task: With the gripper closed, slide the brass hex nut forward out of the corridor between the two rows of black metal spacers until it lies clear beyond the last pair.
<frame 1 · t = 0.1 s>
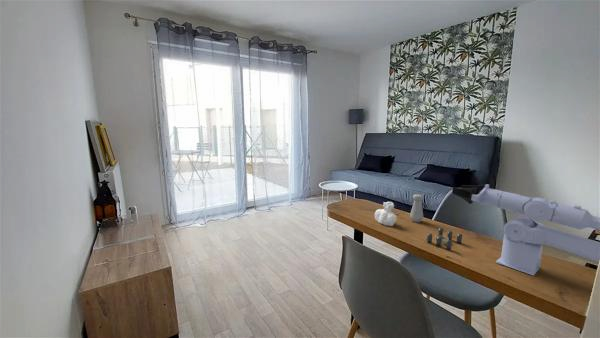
hand: (457, 189, 94), 22 cm above the table, tool horizontal, fingers open, 7 cm apart
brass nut: (441, 242, 98), on the table
salt shaker: (416, 221, 121), on the table
black spacers: (444, 242, 97), on the table
duck figurine: (386, 223, 118), on the table
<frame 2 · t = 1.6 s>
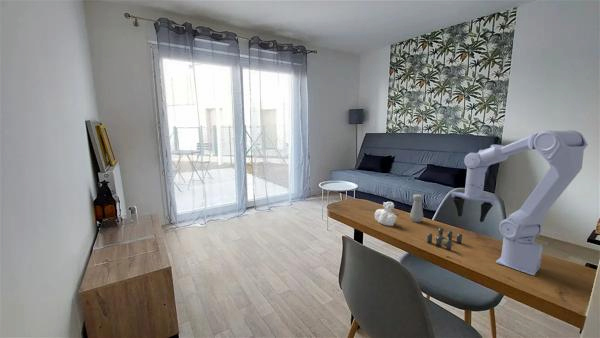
hand: (470, 218, 97), 9 cm above the table, tool pointing down, fingers open, 7 cm apart
nothing on the table moved.
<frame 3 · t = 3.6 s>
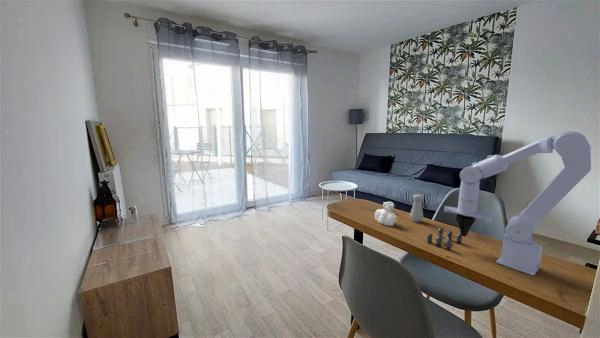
hand: (463, 235, 91), 5 cm above the table, tool pointing down, fingers closed
nothing on the table moved.
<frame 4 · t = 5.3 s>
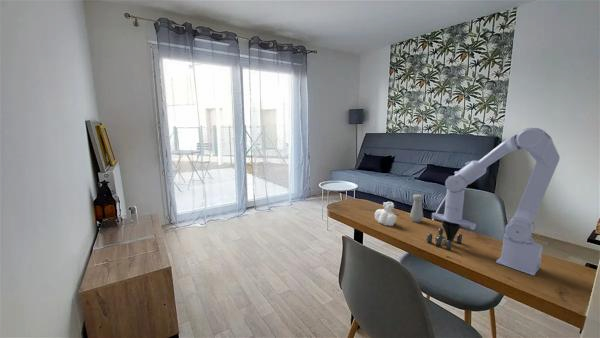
hand: (450, 241, 95), 1 cm above the table, tool pointing down, fingers closed
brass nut: (440, 242, 98), on the table, touching gripper
everything else where it was.
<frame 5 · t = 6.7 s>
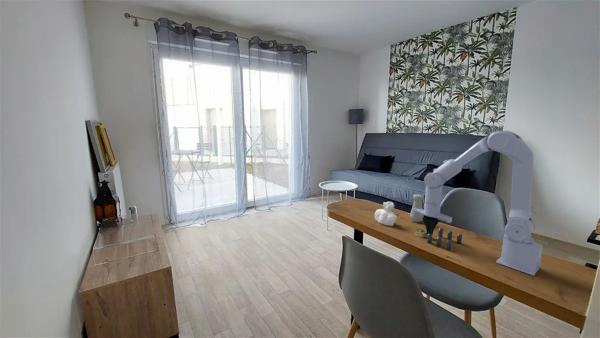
hand: (429, 234, 102), 1 cm above the table, tool pointing down, fingers closed
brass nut: (421, 235, 104), on the table, touching gripper
everything else where it was.
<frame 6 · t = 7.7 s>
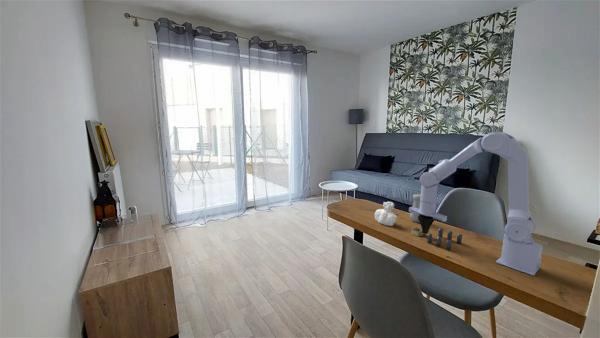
hand: (425, 233, 103), 1 cm above the table, tool pointing down, fingers closed
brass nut: (417, 234, 106), on the table
everything else where it was.
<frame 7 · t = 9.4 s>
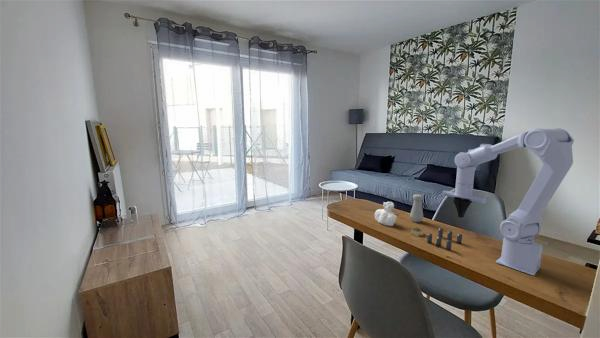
hand: (461, 216, 99), 9 cm above the table, tool pointing down, fingers closed
nothing on the table moved.
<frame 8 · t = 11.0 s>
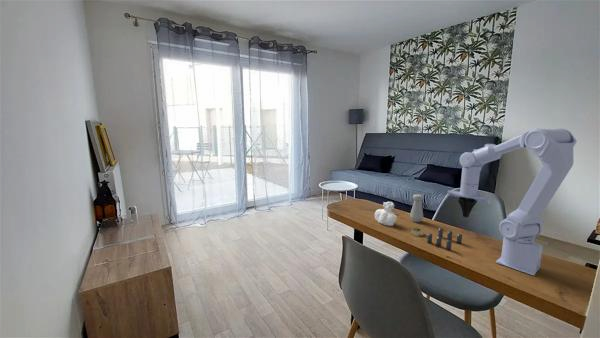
hand: (465, 216, 99), 9 cm above the table, tool pointing down, fingers closed
nothing on the table moved.
at the end: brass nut inside the target area (1.5 cm from its centre), on the table; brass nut tilted 0°; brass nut touching table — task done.
